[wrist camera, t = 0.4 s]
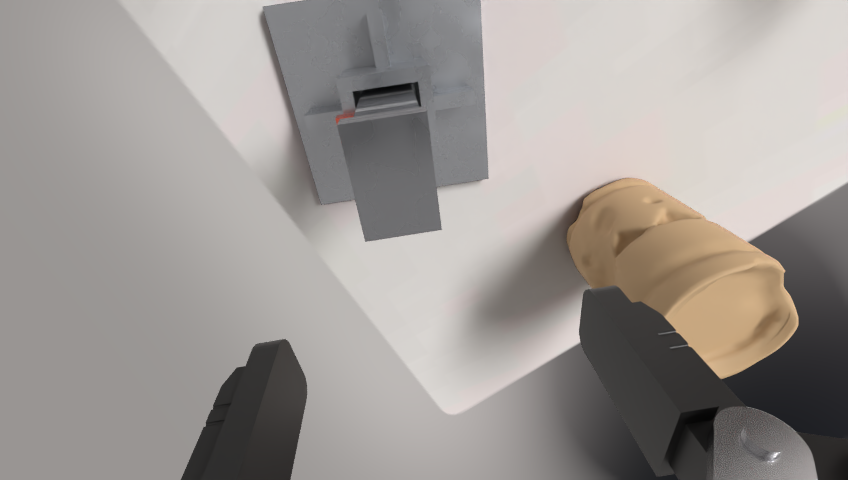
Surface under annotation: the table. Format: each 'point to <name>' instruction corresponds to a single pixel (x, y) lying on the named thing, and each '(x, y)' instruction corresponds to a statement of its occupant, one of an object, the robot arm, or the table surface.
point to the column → (391, 163)
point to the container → (684, 272)
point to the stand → (384, 77)
